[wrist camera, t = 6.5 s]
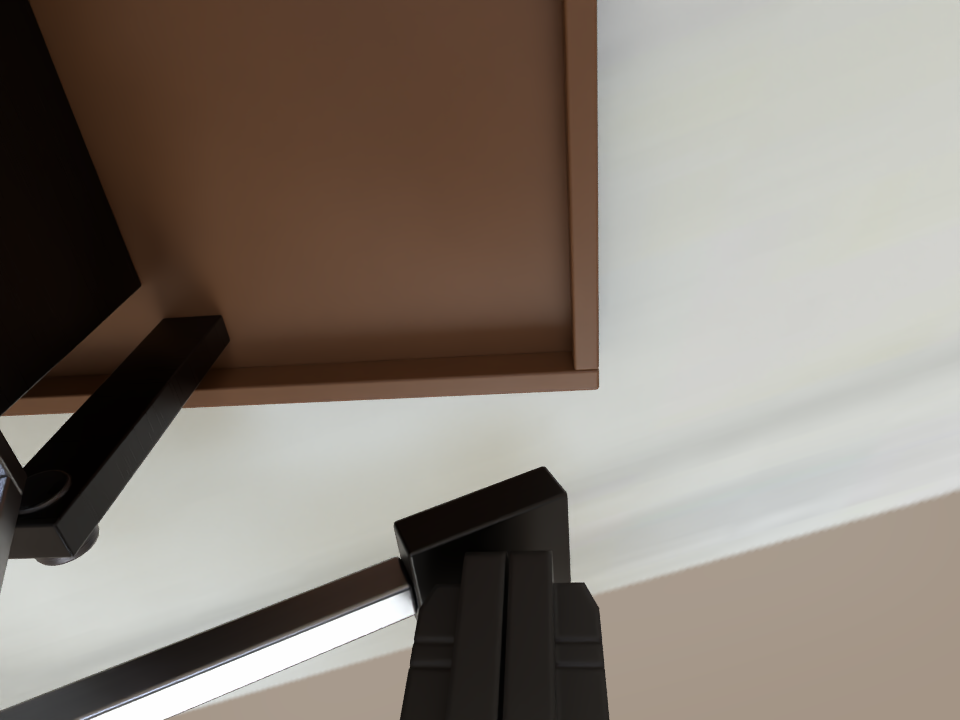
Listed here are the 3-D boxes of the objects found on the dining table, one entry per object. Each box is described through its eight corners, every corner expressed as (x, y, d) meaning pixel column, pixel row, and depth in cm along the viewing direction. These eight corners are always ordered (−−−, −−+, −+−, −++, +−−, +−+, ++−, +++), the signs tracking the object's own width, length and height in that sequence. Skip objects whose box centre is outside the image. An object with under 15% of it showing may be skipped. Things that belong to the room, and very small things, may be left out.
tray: (-518, -238, 13) (-635, -257, 11) (586, -421, 11) (594, -468, 9) (-100, 392, 20) (-143, 423, 19) (594, 358, 18) (598, 390, 17)
